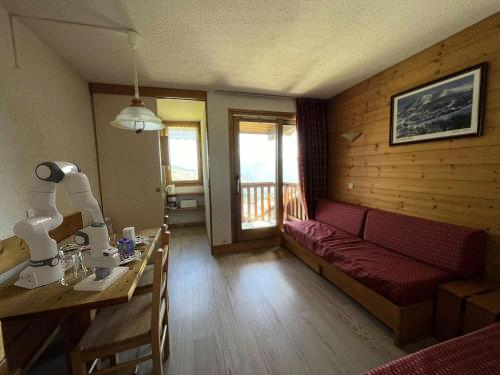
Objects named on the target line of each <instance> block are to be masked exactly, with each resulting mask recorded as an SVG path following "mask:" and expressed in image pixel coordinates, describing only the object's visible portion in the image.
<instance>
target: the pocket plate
mask: <svg viewBox="0 0 500 375" xmlns="http://www.w3.org/2000/svg"><path fill="white" fill-rule="evenodd" d="M129 271H130V267H129V266H118V267H116V268H114V269H113V274H110V275H109V276H107V277H106V278H105V279H103V280H99V281H94V279H95V278H96V275H95V274H93V273H92V274H90V275H89V276H88V277H86V278H84V279H83V280H82V281H80V282H78V283H77V284H75V285H74V286H73V291H85V292H86V291H88V292H89V291H91V292H103V291H104V290H106V289H107V288H108V287H109V286H110V285H111V284H113V283H114V282H116V281H117V280H118V279H119V278H121V277H122V276H123V275H124V274H126V273H127V272H129Z"/></svg>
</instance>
